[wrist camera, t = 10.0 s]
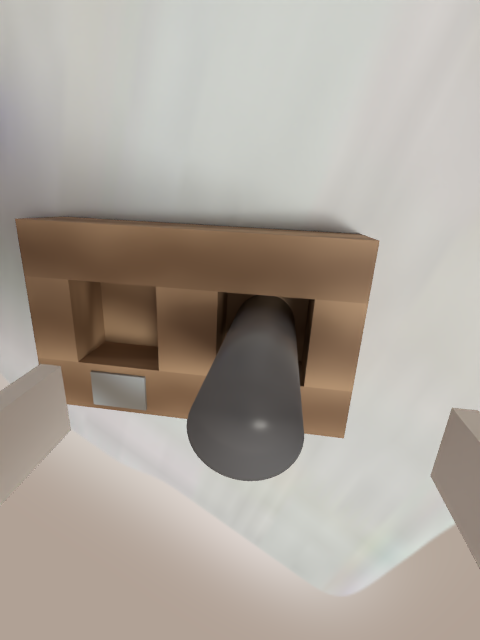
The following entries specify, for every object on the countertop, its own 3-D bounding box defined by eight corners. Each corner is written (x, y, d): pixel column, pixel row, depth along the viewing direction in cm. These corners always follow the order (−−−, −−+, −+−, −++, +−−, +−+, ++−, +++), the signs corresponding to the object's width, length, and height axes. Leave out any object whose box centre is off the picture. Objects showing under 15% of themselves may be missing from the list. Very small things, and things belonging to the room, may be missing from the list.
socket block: (64, 216, 23) (12, 219, 19) (360, 234, 21) (380, 241, 17) (83, 374, 27) (43, 406, 23) (333, 402, 25) (343, 444, 21)
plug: (236, 292, 22) (185, 375, 11) (297, 296, 22) (310, 386, 10) (234, 347, 23) (187, 473, 12) (292, 352, 23) (298, 487, 12)
